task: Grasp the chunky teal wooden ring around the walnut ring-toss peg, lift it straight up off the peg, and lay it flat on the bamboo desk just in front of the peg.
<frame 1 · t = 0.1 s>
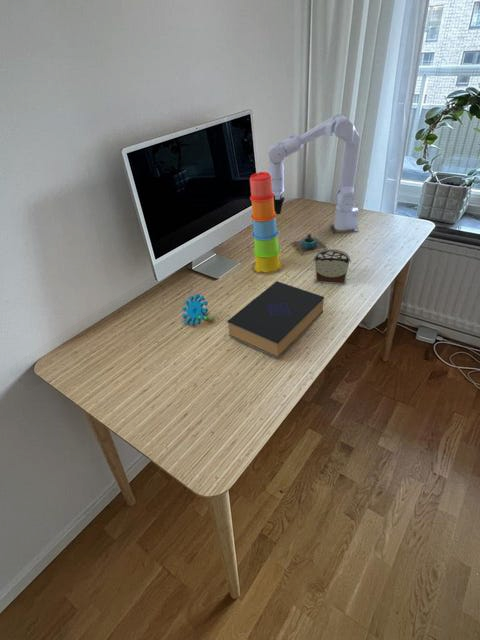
hand: (277, 210, 161), 10 cm above the table, tool pointing down, fingers open, 7 cm apart
blue knobbed toy: (197, 320, 121), on the table
book: (277, 326, 115), on the table
ring toss: (309, 246, 154), on the table
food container: (330, 278, 134), on the table
ring: (309, 244, 154), point 1 cm above the table, touching ring toss
stacking cups: (267, 267, 144), on the table
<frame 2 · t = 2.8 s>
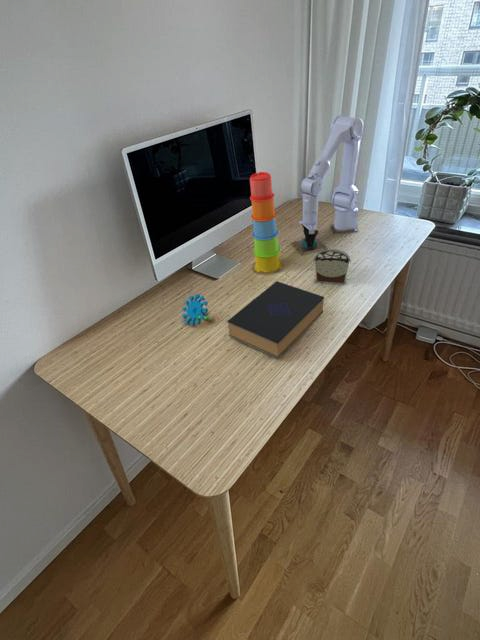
hand: (309, 242, 153), 2 cm above the table, tool pointing down, fingers closed on ring, 5 cm apart
ring: (309, 244, 154), point 1 cm above the table, touching gripper, ring toss
everything else where it was.
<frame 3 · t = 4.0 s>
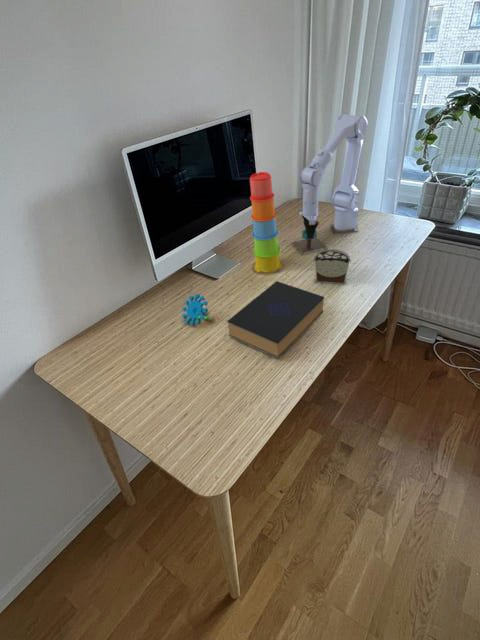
hand: (309, 234, 151), 5 cm above the table, tool pointing down, fingers closed on ring, 5 cm apart
ring: (309, 236, 151), point 4 cm above the table, touching gripper
everything else where it was.
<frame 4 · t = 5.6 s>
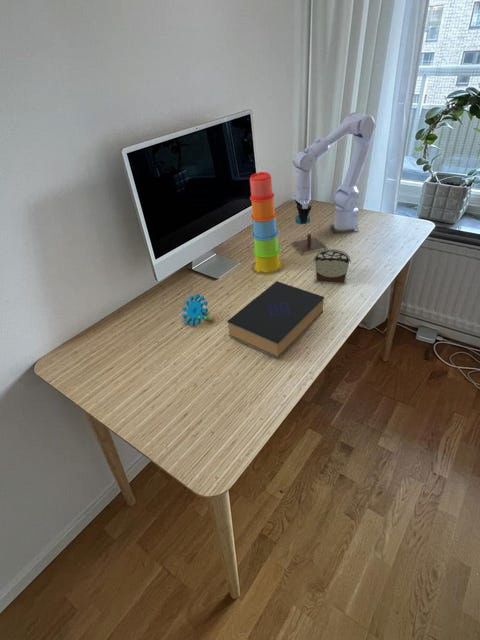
hand: (302, 219, 154), 9 cm above the table, tool pointing down, fingers closed on ring, 5 cm apart
ring: (302, 221, 155), point 8 cm above the table, touching gripper
everything else where it was.
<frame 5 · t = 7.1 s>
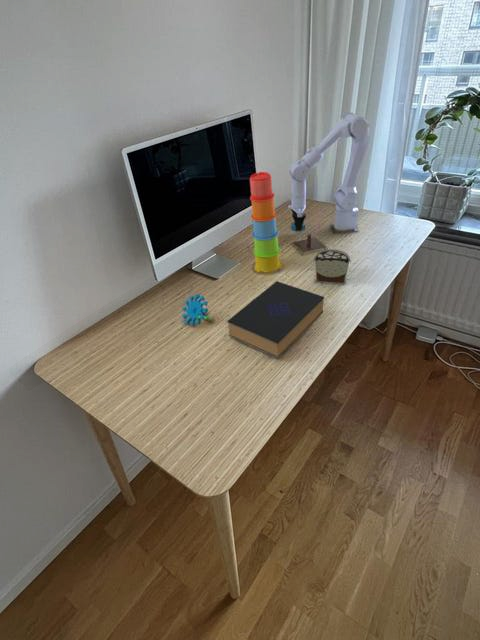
hand: (298, 226, 161), 4 cm above the table, tool pointing down, fingers closed on ring, 5 cm apart
ring: (297, 228, 161), point 3 cm above the table, touching gripper
everything else where it was.
when the fingers open (1 cm above the table, at t = 8.5 s): ring stays where it is, on the table.
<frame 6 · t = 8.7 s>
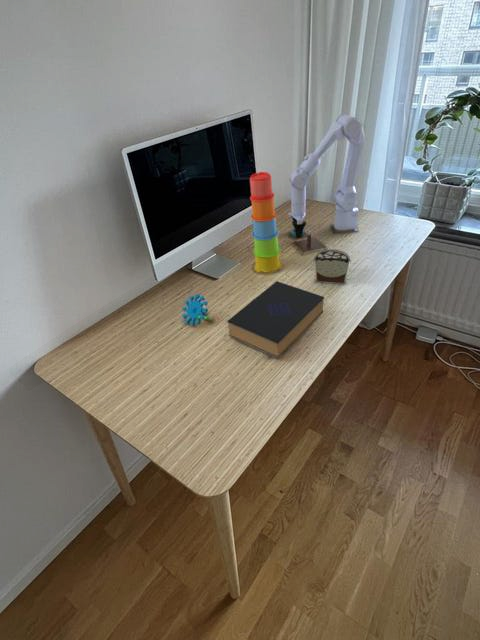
hand: (298, 233, 163), 1 cm above the table, tool pointing down, fingers open, 7 cm apart
ring: (297, 235, 163), on the table
everything else where it was.
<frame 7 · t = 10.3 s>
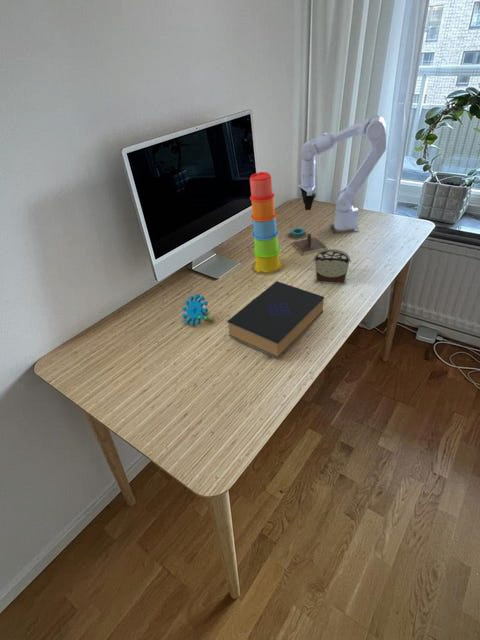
hand: (307, 206, 163), 9 cm above the table, tool pointing down, fingers open, 7 cm apart
nothing on the table moved.
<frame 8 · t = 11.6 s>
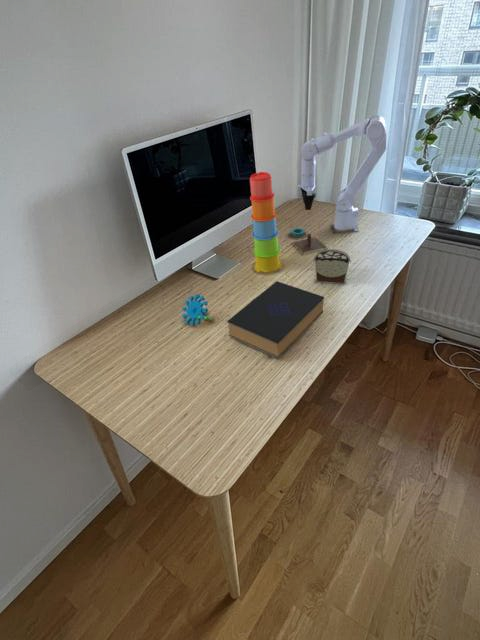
hand: (307, 206, 163), 9 cm above the table, tool pointing down, fingers open, 7 cm apart
nothing on the table moved.
at the end: ring inside the target area (0.1 cm from its centre), on the table; ring tilted 0°; the gripper is holding nothing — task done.
